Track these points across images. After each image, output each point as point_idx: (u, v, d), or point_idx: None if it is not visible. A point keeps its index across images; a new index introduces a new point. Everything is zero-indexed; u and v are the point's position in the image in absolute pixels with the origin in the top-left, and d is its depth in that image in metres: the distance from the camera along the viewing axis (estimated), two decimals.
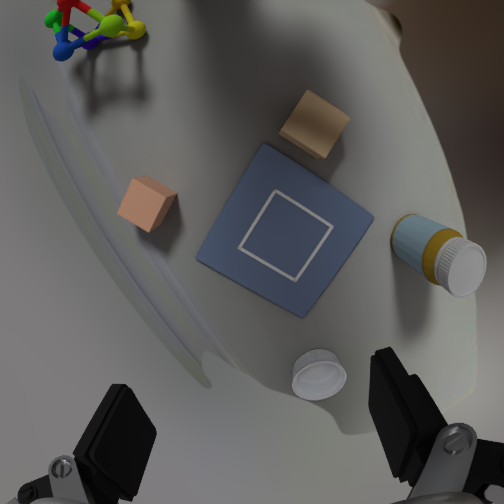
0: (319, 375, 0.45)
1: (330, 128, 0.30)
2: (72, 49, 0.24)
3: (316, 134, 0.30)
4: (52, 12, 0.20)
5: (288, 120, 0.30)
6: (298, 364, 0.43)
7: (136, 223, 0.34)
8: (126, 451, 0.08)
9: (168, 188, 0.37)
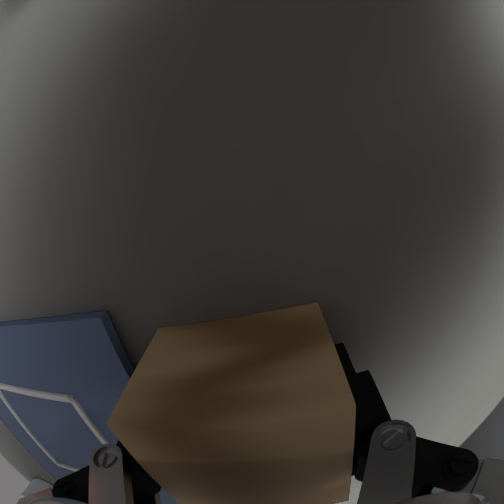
0: None
1: (270, 500, 0.07)
2: None
3: (212, 492, 0.07)
4: None
5: (155, 431, 0.06)
6: (36, 488, 0.17)
7: None
8: None
9: None
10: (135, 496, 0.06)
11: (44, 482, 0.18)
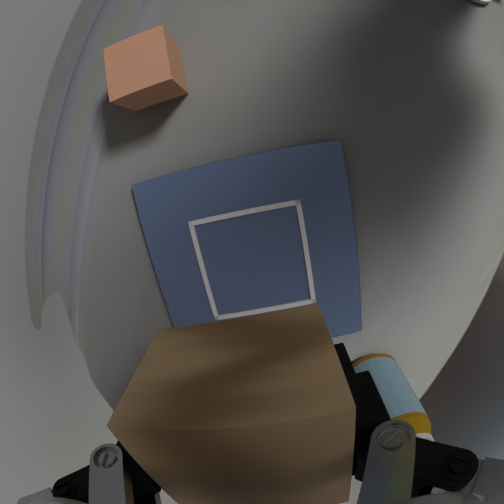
0: None
1: (271, 501, 0.07)
2: None
3: (212, 493, 0.07)
4: None
5: (156, 433, 0.06)
6: None
7: (108, 78, 0.16)
8: None
9: (185, 79, 0.21)
10: (135, 496, 0.06)
11: None
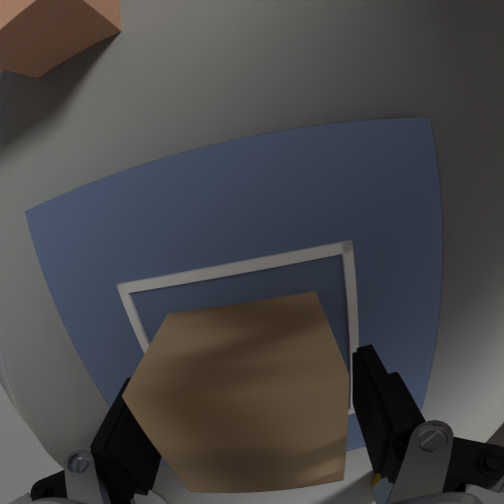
0: None
1: (270, 477, 0.08)
2: None
3: (216, 467, 0.08)
4: None
5: (168, 401, 0.07)
6: None
7: None
8: (142, 444, 0.08)
9: (118, 9, 0.08)
10: (111, 500, 0.06)
11: None
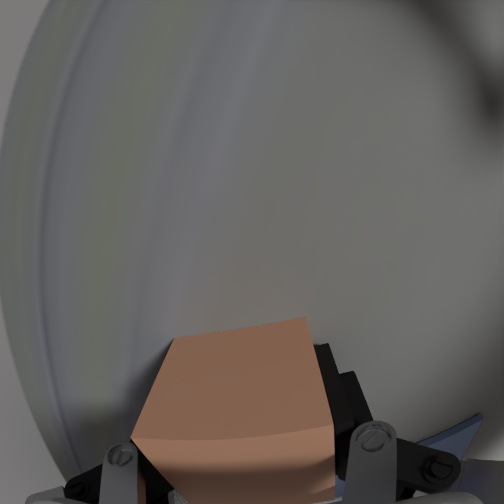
0: None
1: None
2: None
3: None
4: None
5: None
6: None
7: (180, 489, 0.07)
8: None
9: None
10: (148, 495, 0.06)
11: None
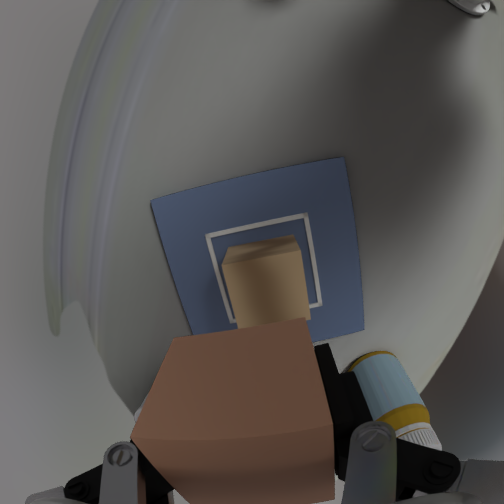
0: None
1: (277, 311, 0.23)
2: None
3: (254, 304, 0.23)
4: None
5: (240, 263, 0.22)
6: None
7: (179, 488, 0.07)
8: None
9: None
10: (148, 495, 0.06)
11: None
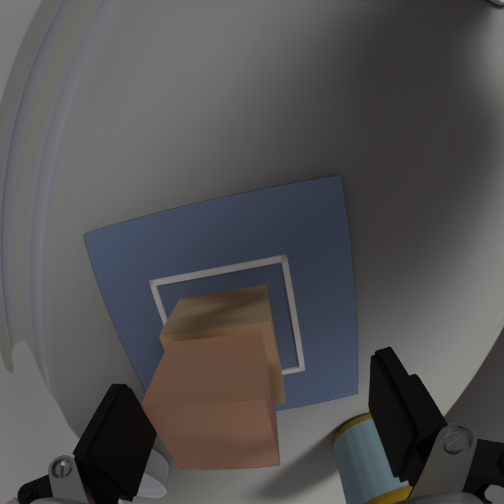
0: None
1: None
2: None
3: None
4: None
5: (183, 335, 0.14)
6: None
7: (170, 448, 0.11)
8: (126, 451, 0.08)
9: (271, 385, 0.15)
10: None
11: None
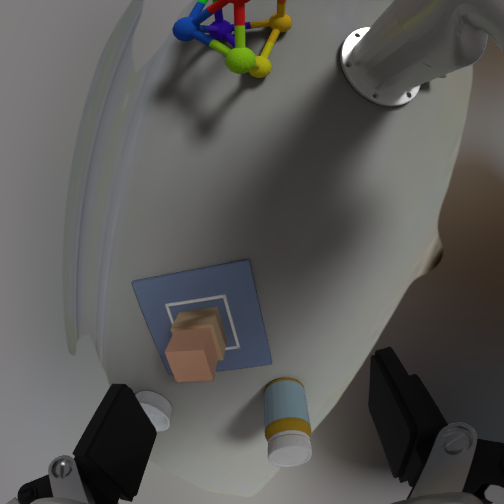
0: (151, 410, 0.49)
1: None
2: (193, 38, 0.24)
3: None
4: None
5: (180, 329, 0.37)
6: (142, 396, 0.46)
7: (173, 370, 0.33)
8: (126, 451, 0.08)
9: (215, 350, 0.38)
10: None
11: (147, 391, 0.48)
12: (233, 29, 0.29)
